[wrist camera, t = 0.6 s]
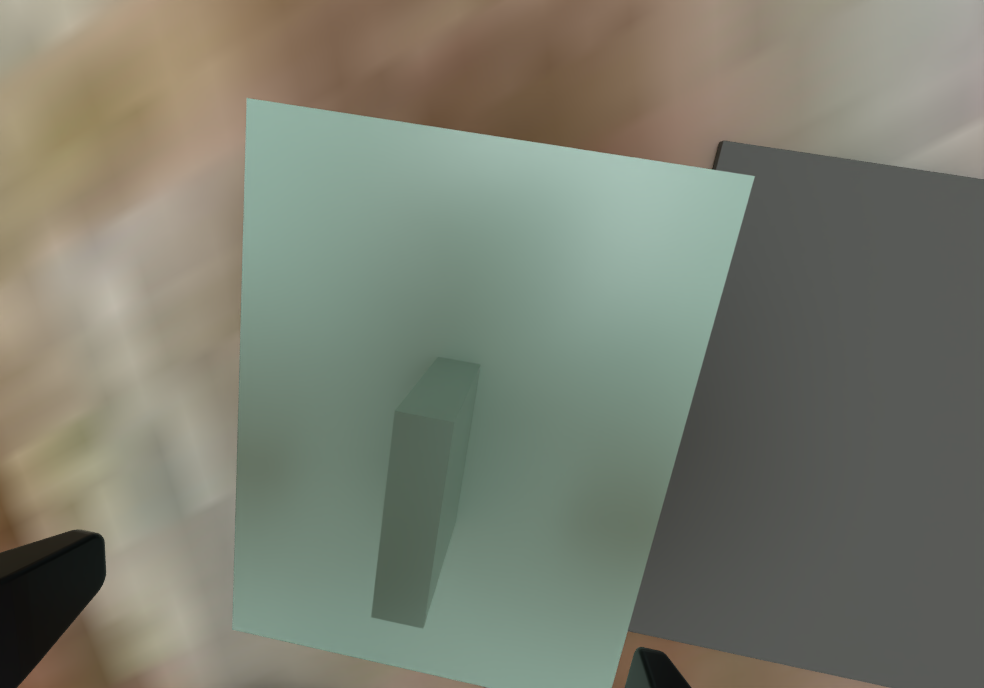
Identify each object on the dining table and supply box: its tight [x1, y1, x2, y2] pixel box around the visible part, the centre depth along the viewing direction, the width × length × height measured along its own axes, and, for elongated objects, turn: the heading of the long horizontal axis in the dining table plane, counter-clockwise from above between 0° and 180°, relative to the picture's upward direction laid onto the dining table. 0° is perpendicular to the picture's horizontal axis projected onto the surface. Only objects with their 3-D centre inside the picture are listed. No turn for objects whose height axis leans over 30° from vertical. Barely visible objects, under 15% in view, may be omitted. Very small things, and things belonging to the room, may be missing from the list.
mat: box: [628, 141, 984, 688], centre depth 19 cm, size 20×17×1 cm
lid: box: [232, 98, 755, 688], centre depth 13 cm, size 17×13×6 cm
